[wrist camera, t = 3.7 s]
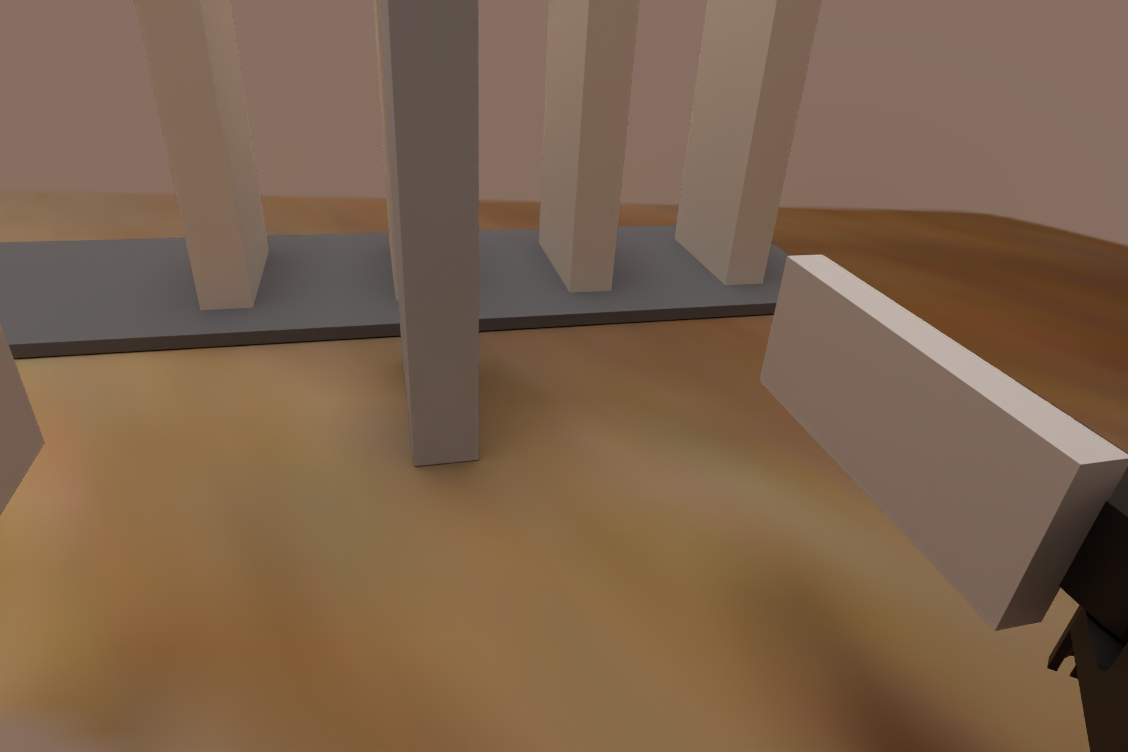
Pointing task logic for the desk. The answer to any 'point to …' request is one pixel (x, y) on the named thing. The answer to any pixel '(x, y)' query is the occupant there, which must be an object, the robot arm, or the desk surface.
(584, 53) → the domino
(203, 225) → the domino
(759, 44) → the domino
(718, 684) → the desk surface
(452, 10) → the slate domino
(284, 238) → the runway mat
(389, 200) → the domino
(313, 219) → the desk surface
